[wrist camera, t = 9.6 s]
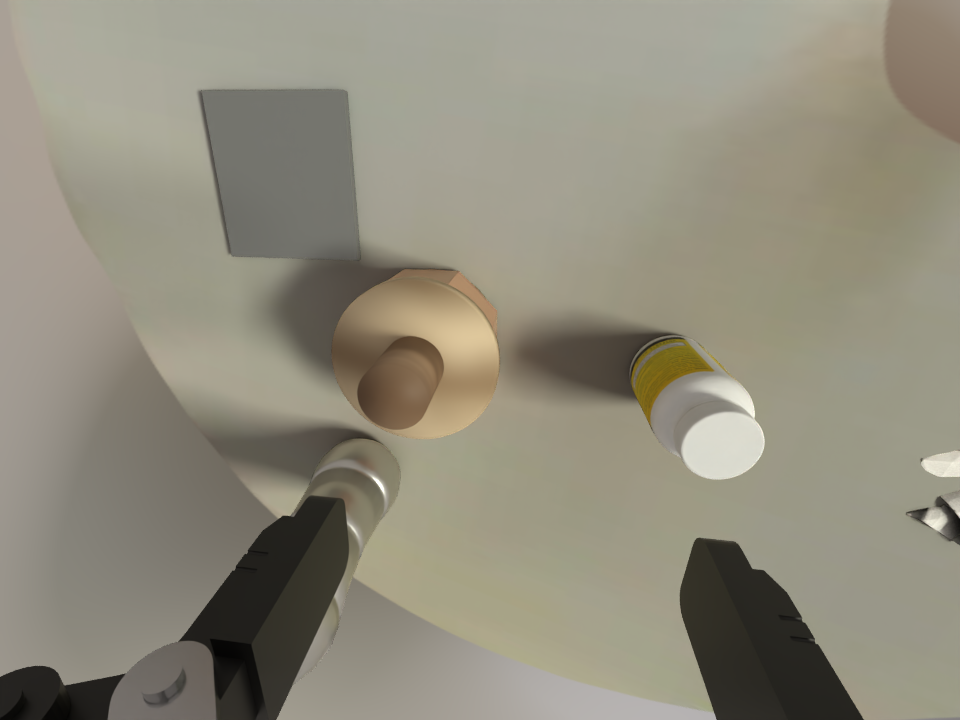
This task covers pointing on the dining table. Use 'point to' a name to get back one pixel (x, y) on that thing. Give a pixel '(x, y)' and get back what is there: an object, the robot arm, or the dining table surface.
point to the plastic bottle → (351, 516)
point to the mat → (285, 172)
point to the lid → (416, 357)
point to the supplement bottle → (696, 407)
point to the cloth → (943, 496)
